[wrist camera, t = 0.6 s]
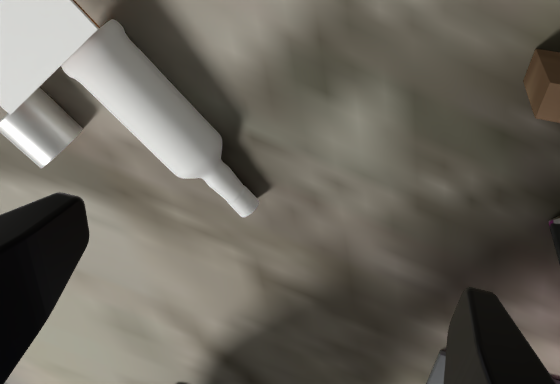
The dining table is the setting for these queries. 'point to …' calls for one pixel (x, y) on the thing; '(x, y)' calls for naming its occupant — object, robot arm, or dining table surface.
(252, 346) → the dining table surface
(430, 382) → the mat
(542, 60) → the back rail
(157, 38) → the dining table surface
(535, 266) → the dining table surface
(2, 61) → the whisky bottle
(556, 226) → the candy bar box
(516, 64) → the dining table surface
